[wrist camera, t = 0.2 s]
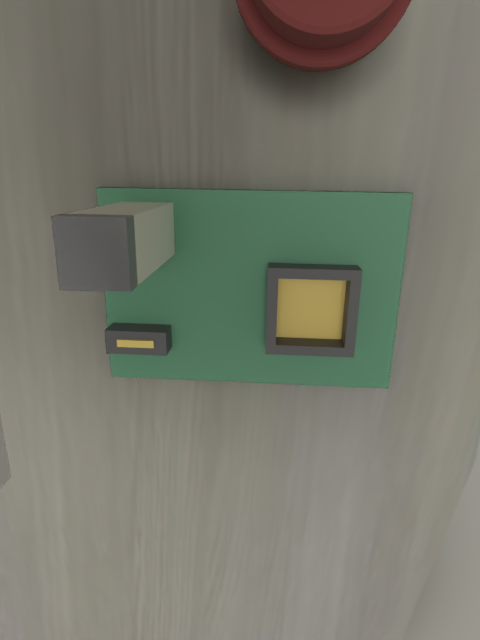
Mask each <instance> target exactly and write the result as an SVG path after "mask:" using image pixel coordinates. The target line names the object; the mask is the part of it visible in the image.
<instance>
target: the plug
mask: <svg viewBox="0 0 480 640" xmlns="http://www.w3.org/2000/svg"><path fill="white" fill-rule="evenodd" d="M51 218H52V227H53V236H54V245H55V254H56V263H57V272H58V281H59V290H77V291H108V292H131V291H133V290H134V289H135V288H136V287H137V286H138V285H139V284H140V283H141V282H142V281H144V280H145V279H146V278H147V277H148V276H150V275H151V274H152V273H153V272H154V271H155V270H157V269H158V268H159V267H160V266H161V265H163V264H164V263H165V262H166V261H167V260H168V259H170V258H171V257H172V256H173V255H174V254H175V242H174V209H173V203H172V202H118V203H113V204H108V205H104V206H99V207H94V208H90V209H85V210H80V211H75V212H71V213H66V214H59V215H54V216H51Z"/></svg>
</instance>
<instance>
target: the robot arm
mask: <svg viewBox="0 0 480 640" xmlns="http://www.w3.org/2000/svg"><path fill="white" fill-rule="evenodd" d="M10 477H11V471H10V466H9V460H8V455H7V449H6V444H5V438H4V433H3V427H2V422H1V416H0V489H1V488H2V487H3V486H4V484H5V483H6V482H7V481H8V480H9V479H10Z"/></svg>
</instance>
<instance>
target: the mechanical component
mask: <svg viewBox="0 0 480 640" xmlns="http://www.w3.org/2000/svg"><path fill="white" fill-rule="evenodd" d="M236 2H237V5H238V9H239V12H240V15H241V17H242V19H243V21H244V24H245V26H246V27H247V29H248V31H249V32H250V34H251V36H252V37H253V38H254V40H255V41H256V42H257V43H258V44H259V46H260V47H261V48H262V49H263V50H265V51H266V52H267V53H268V54H269V55H270V56H272V57H273V58H275V59H276V60H278V61H279V62H281V63H283V64H285V65H288V66H290V67H292V68H296V69H300V70H304V71H314V72H318V71H330V70H335V69H339V68H342V67H345V66H348V65H350V64H353V63H354V62H356V61H358V60H360V59H362V58H364V57H365V56H366V55H368V54H369V53H370V52H372V51H373V50H374V49H375V48H376V47H377V46H379V45H380V44H381V43H382V42H383V41H384V40H385V39H386V37H387V36H388V35H389V34H390V33H391V31H392V30H393V29H394V28H395V27H396V25H397V24H398V22H399V21H400V19H401V18H402V16H403V15H404V13H405V11H406V9H407V7H408V5H409V4H410V2H411V0H236Z"/></svg>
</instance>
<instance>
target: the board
mask: <svg viewBox="0 0 480 640" xmlns="http://www.w3.org/2000/svg"><path fill="white" fill-rule="evenodd" d="M96 190H97V203H98V207H99V206H104V205H108V204H113V203H118V202H172V203H173V209H174V242H175V254H174V255H173V256H172V257H171V258H170V259H168V260H167V261H166V262H165V263H164V264H163V265H161V266H160V267H159V268H158V269H157V270H155V271H154V272H153V273H152V274H151V275H150V276H148V277H147V278H146V279H145V280H144V281H142V282H141V283H140V284H139V285H138V286H137V287H136V288H135V289H134V290H133V291H131V292H108V291H105V302H106V314H107V327H108V328H107V329H106V330H105V341H106V353H107V354H110V364H111V376H119V377H142V378H164V379H187V380H210V381H233V382H255V383H278V384H301V385H324V386H346V387H369V388H388V385H389V377H390V370H391V362H392V354H393V346H394V338H395V330H396V322H397V314H398V306H399V299H400V291H401V283H402V275H403V267H404V259H405V251H406V243H407V235H408V227H409V220H410V212H411V204H412V196H413V193H399V192H342V191H285V190H228V189H171V188H114V187H99V188H96Z"/></svg>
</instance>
